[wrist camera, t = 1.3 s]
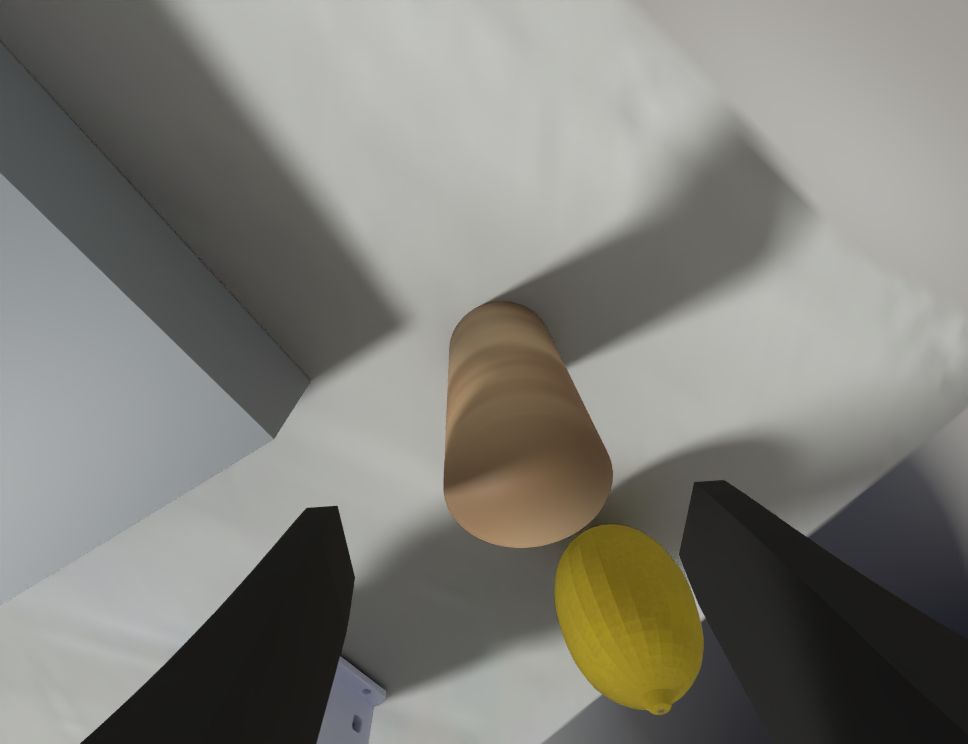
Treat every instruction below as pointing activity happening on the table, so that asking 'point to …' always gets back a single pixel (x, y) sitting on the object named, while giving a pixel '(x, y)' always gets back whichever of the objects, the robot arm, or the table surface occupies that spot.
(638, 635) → the lemon
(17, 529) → the socket block
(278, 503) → the table surface
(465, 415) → the peg
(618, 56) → the table surface
